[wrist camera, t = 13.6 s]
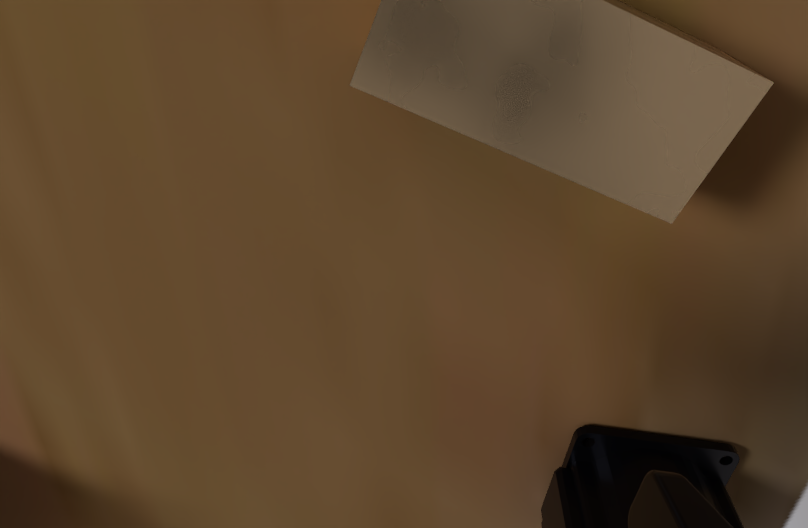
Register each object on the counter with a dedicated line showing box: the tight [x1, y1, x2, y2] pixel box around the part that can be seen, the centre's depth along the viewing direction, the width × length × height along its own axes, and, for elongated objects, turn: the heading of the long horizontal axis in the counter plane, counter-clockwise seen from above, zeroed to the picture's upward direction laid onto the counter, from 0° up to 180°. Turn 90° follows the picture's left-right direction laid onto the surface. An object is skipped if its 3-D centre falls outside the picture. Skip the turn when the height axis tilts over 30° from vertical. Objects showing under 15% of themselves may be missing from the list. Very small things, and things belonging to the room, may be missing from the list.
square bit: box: [350, 0, 774, 224], centre depth 17 cm, size 9×4×4 cm, turn 68°
